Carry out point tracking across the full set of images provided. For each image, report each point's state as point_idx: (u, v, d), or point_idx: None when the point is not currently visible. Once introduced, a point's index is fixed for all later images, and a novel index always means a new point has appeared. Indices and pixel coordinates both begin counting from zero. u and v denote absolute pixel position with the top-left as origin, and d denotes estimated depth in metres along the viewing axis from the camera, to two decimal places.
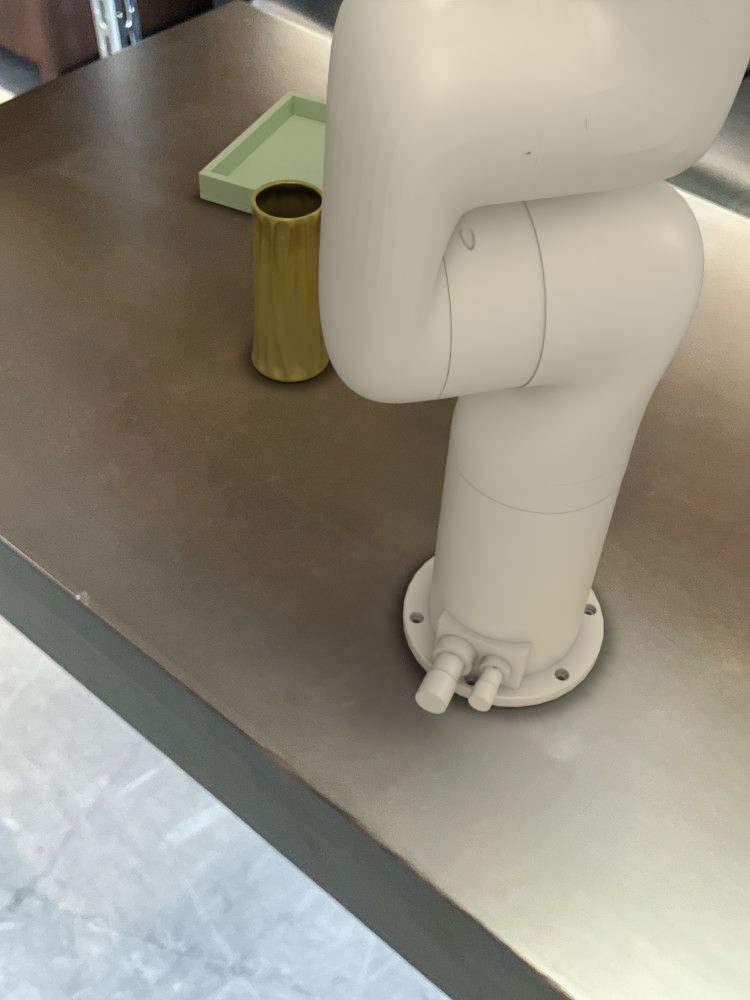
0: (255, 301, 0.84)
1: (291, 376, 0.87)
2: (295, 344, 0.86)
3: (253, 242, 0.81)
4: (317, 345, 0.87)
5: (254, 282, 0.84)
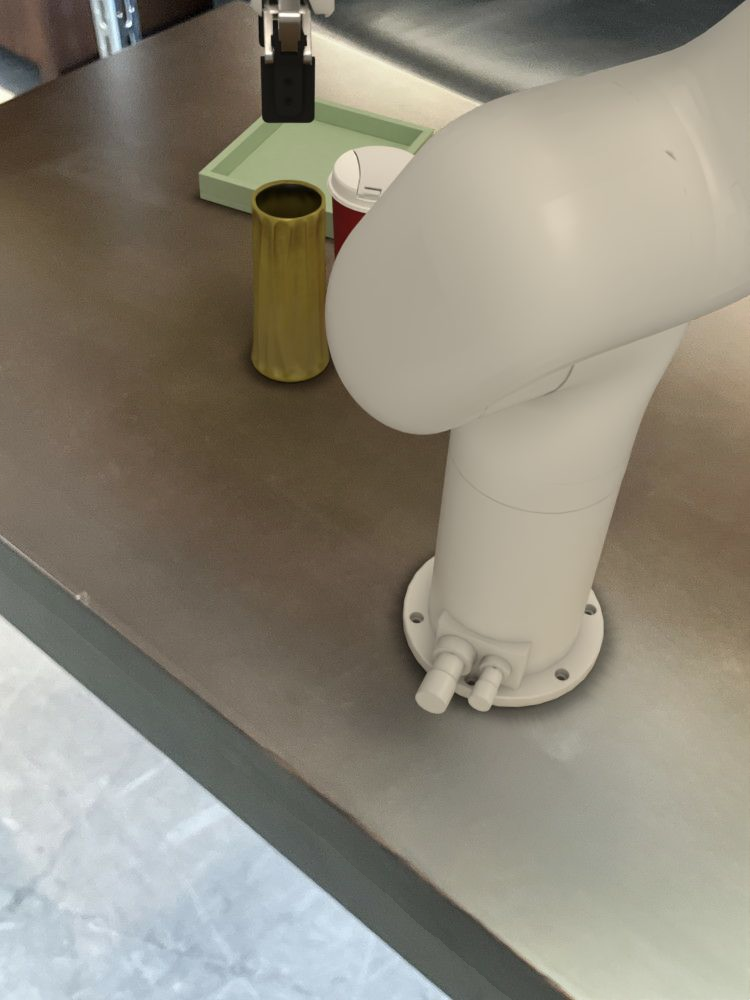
0: (255, 301, 0.84)
1: (291, 376, 0.87)
2: (295, 344, 0.86)
3: (253, 242, 0.81)
4: (317, 345, 0.87)
5: (254, 282, 0.84)
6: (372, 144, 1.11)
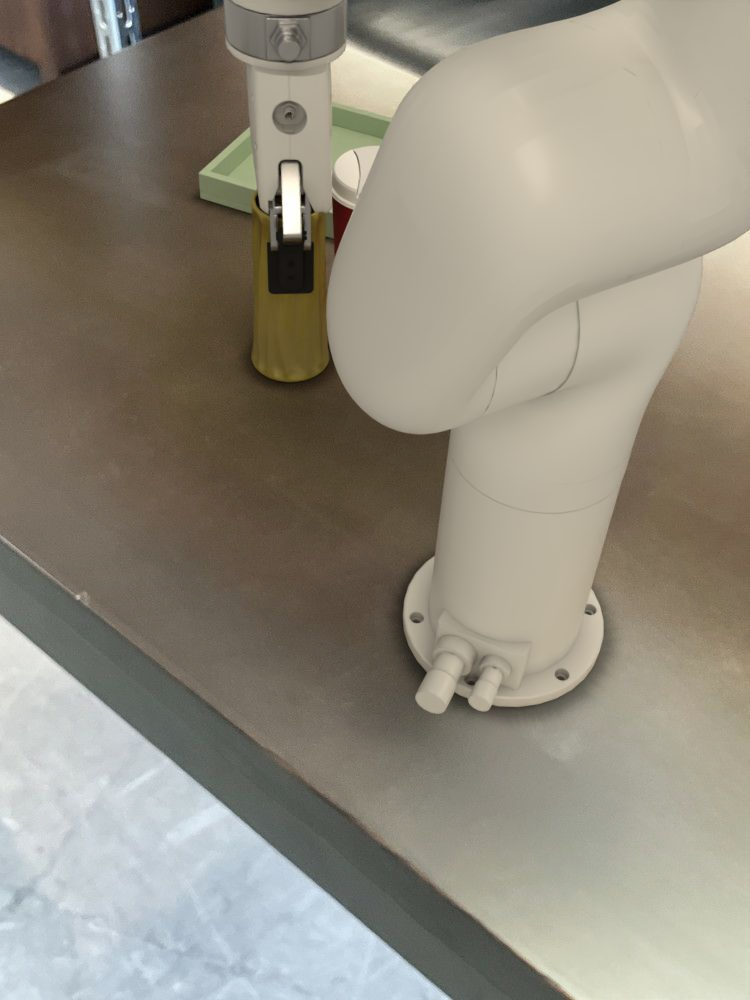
0: (255, 301, 0.84)
1: (291, 376, 0.87)
2: (295, 344, 0.86)
3: (253, 242, 0.81)
4: (317, 345, 0.87)
5: (254, 282, 0.84)
6: (372, 144, 1.11)
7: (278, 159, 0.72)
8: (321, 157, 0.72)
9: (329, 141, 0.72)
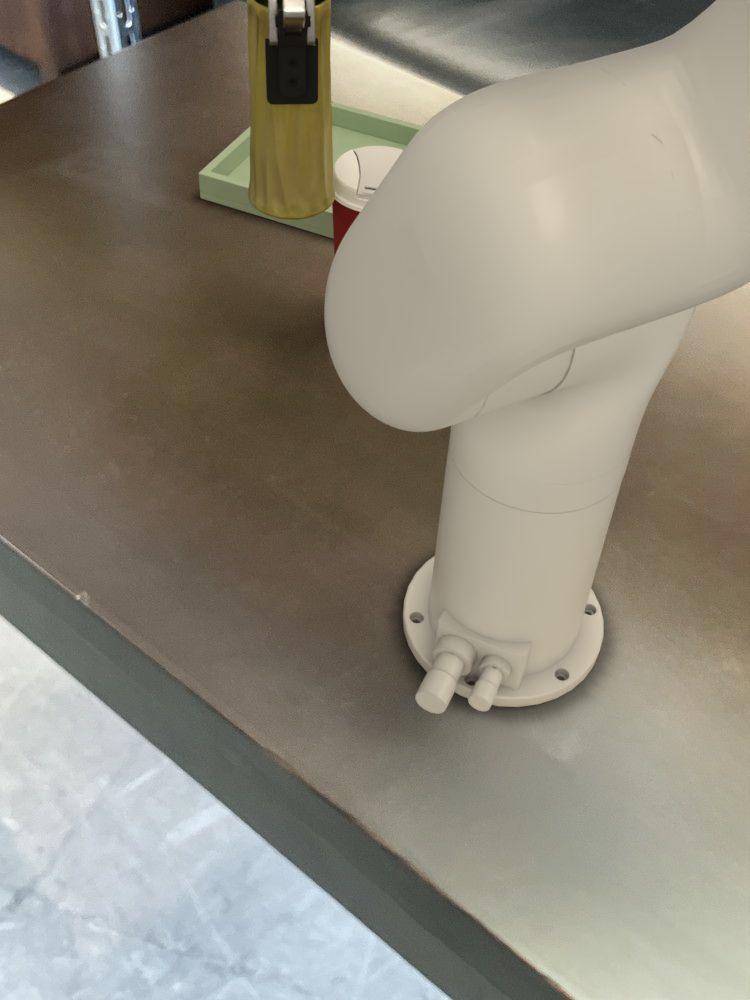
0: (252, 121, 0.75)
1: (293, 212, 0.78)
2: (297, 172, 0.76)
3: (249, 47, 0.72)
4: (321, 176, 0.78)
5: (250, 98, 0.74)
6: (372, 144, 1.11)
7: None
8: None
9: None
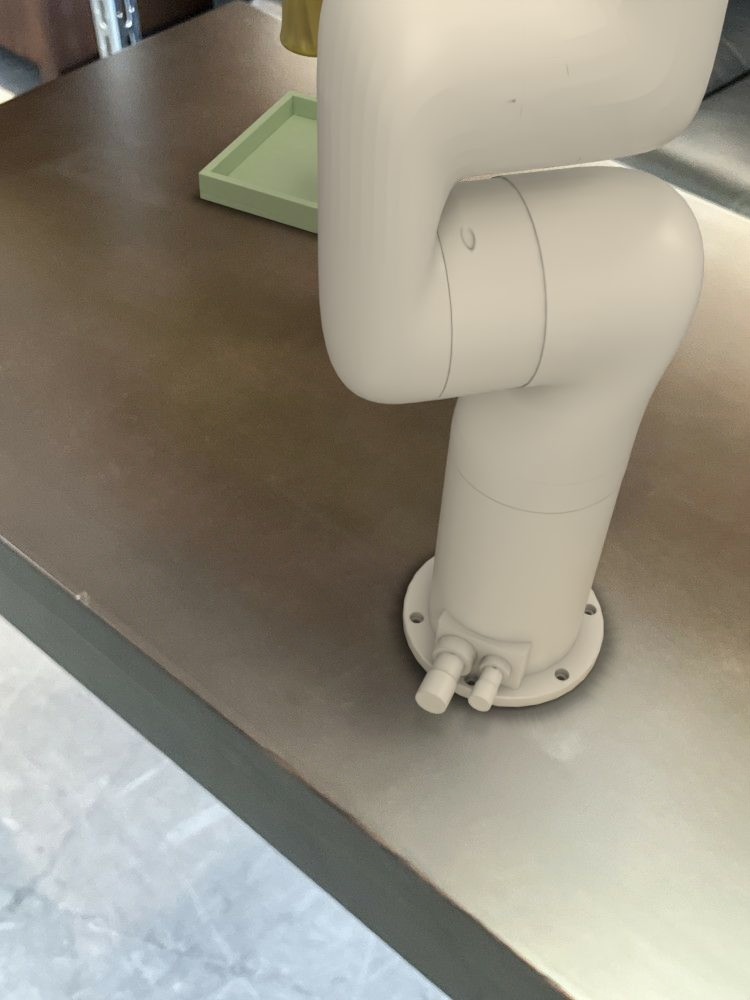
0: None
1: None
2: None
3: None
4: None
5: None
6: None
7: None
8: None
9: None
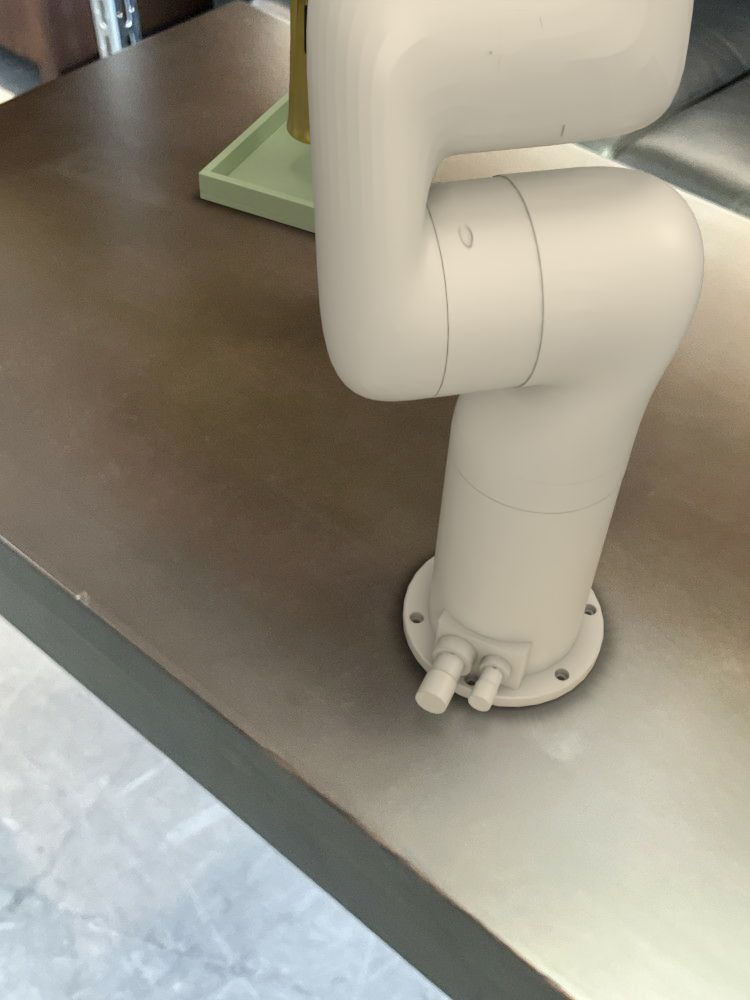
0: (292, 68, 0.99)
1: None
2: None
3: (291, 11, 0.96)
4: None
5: (291, 51, 0.99)
6: None
7: None
8: None
9: None
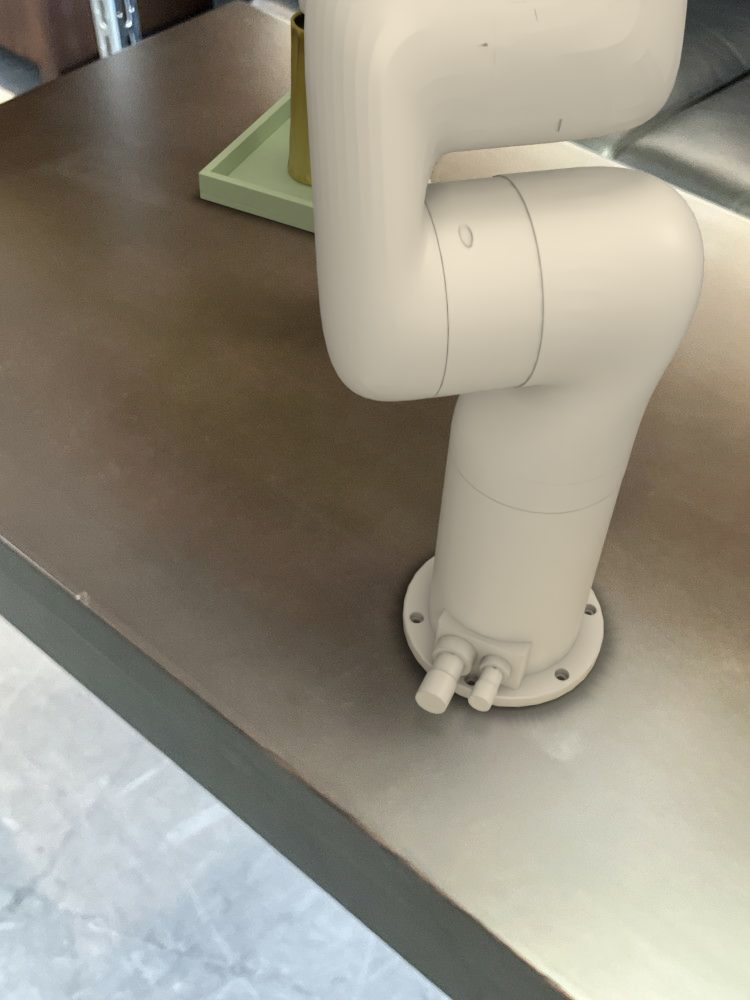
0: (292, 113, 1.02)
1: None
2: None
3: (292, 58, 0.99)
4: None
5: (291, 96, 1.01)
6: None
7: None
8: None
9: None
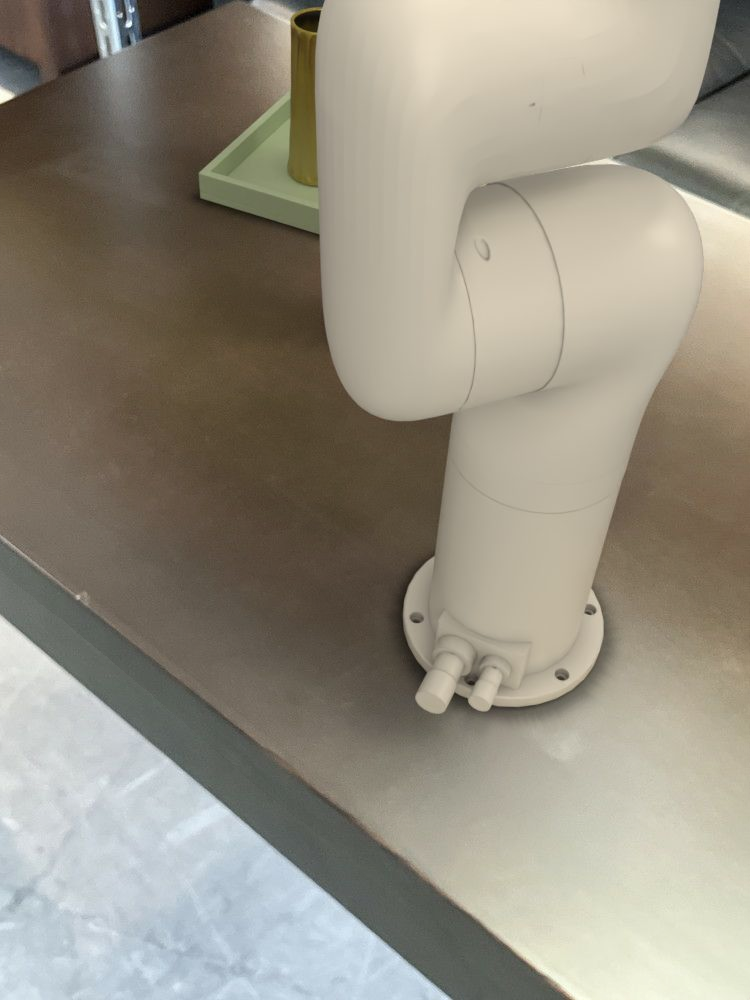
0: (292, 113, 1.02)
1: None
2: None
3: (291, 58, 0.99)
4: None
5: (291, 96, 1.01)
6: None
7: None
8: None
9: None
